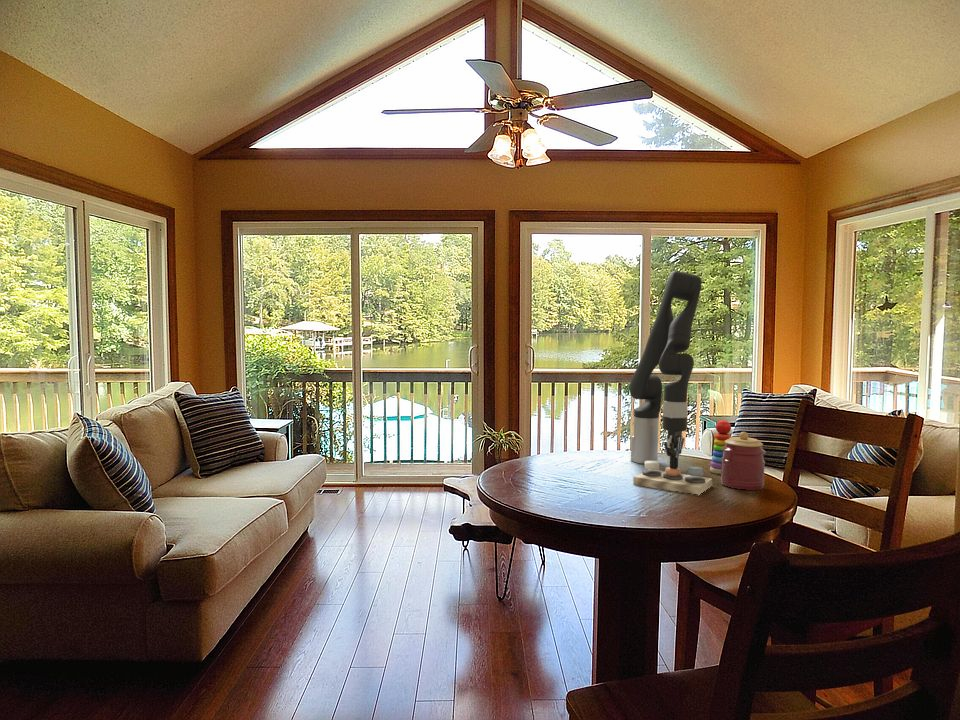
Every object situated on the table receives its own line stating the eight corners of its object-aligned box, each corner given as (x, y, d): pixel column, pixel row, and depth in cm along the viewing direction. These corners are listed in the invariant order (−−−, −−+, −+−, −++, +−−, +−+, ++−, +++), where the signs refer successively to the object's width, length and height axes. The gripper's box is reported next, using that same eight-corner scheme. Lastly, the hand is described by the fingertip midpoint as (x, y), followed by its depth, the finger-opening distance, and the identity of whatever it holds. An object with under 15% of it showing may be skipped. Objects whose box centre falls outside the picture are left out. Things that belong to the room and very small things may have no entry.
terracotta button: (663, 474, 189) (663, 468, 189) (668, 472, 193) (668, 466, 193) (677, 476, 186) (677, 470, 186) (682, 474, 190) (682, 468, 190)
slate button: (685, 474, 185) (685, 468, 185) (689, 472, 189) (690, 466, 188) (700, 477, 182) (700, 470, 182) (704, 474, 186) (704, 468, 186)
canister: (745, 480, 198) (746, 428, 198) (773, 489, 186) (775, 434, 185) (712, 482, 195) (713, 429, 194) (738, 492, 182) (740, 435, 182)
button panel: (633, 484, 190) (633, 474, 190) (648, 476, 202) (648, 466, 201) (699, 495, 178) (700, 484, 178) (712, 486, 189) (712, 476, 189)
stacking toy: (737, 475, 204) (739, 422, 204) (714, 475, 204) (716, 421, 204) (728, 470, 212) (730, 418, 211) (706, 470, 212) (707, 418, 212)
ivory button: (642, 468, 193) (642, 462, 193) (647, 465, 197) (647, 460, 197) (656, 470, 190) (656, 464, 190) (661, 467, 194) (661, 461, 194)
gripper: (670, 412, 196) (668, 463, 197) (656, 416, 186) (655, 470, 186) (693, 414, 192) (691, 466, 192) (680, 418, 181) (679, 474, 182)
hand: (673, 468), depth 189 cm, fingers closed
